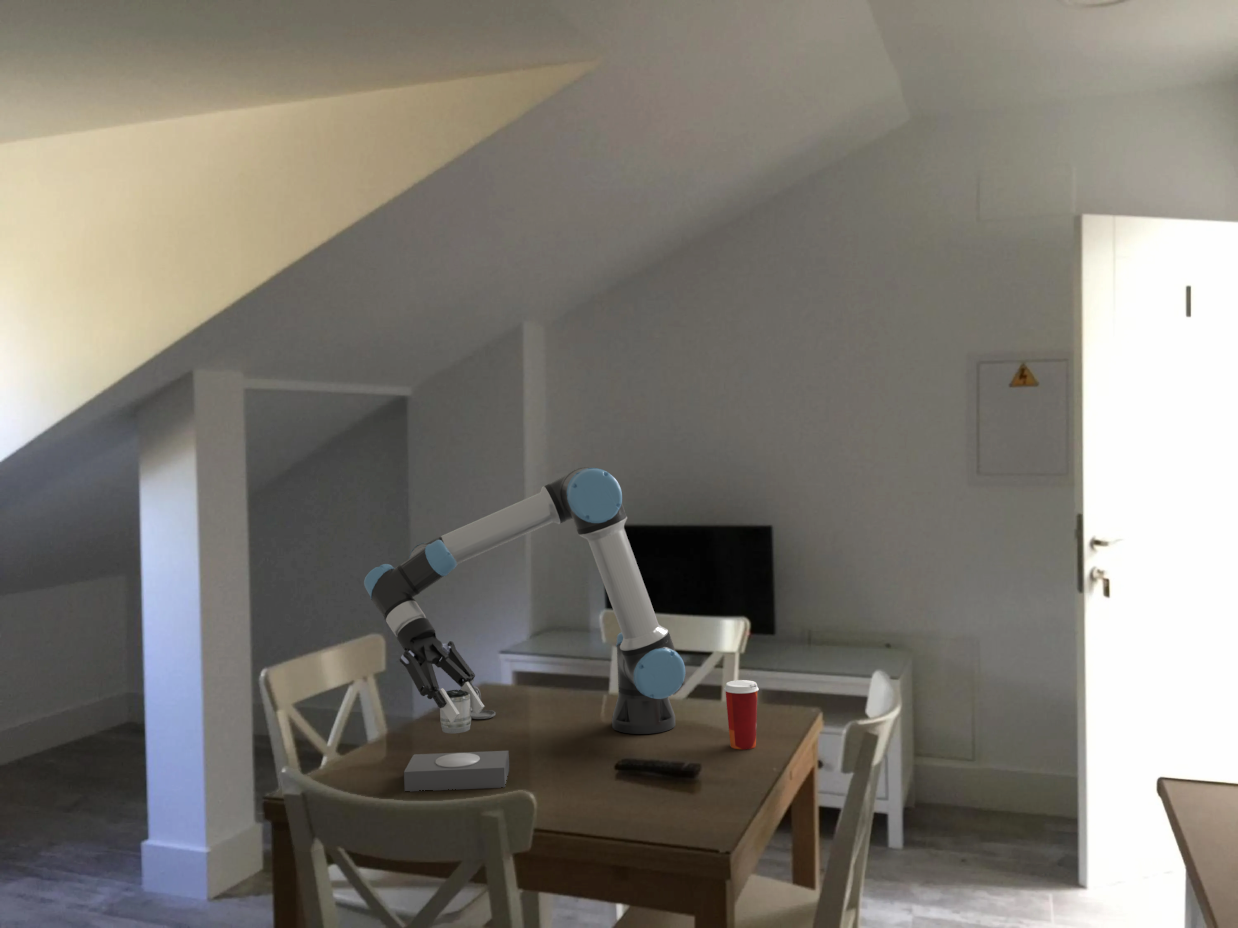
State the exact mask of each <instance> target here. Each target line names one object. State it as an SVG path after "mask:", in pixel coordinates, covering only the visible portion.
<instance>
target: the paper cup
mask: <svg viewBox="0 0 1238 928" xmlns="http://www.w3.org/2000/svg"><path fill="white" fill-rule="evenodd" d="M723 691H725V700H726V702H725V703H726V713H727V724H728V731H729V732H728V733H729V743H730V745H729V746H730V747H731V748H732V749H734V750H744V751H745V750H751V749H754V748H756V747H757V746H756V745H757V723H758V722H757V721H758V719H757V717H758V716H757V715H758V691H760V690H759V687H758V684H757V682H756V681H753V680H746V679H736V680H730V681H727V682H726V684H725V687H724V688H723Z"/></svg>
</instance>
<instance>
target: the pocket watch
mask: <svg viewBox="0 0 1238 928" xmlns="http://www.w3.org/2000/svg"><path fill="white" fill-rule="evenodd" d="M474 680H475V678H474V679H473V680H472V681H471V684H472V685H473V683H474ZM473 687H474V688H475V690H476V691H477V693H478V695H477V696H478V697H479V699H480V700H481V701H482V694H481V690H480V689H479V687H478V686H476V685H473ZM496 714H497V713H496V711H494V710H489V709H482V710H481V712H480V713H479V714H478V715H475V713H474V712H473V710H472V709H471V719H472V720H473V719H474V720H487V719H491V718H493V717H495V716H496Z"/></svg>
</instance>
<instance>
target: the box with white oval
mask: <svg viewBox="0 0 1238 928" xmlns="http://www.w3.org/2000/svg"><path fill="white" fill-rule="evenodd" d="M509 752H510V751H509V750H494V751H493V750H490V751H469V752H466V751H465V752H464V751H463V752H445V753H444V752H441V753H439V752H438V753H420V754H419V753H418V754H417V753H416V754H415V753H414V754H413V755H412V757H411V758H410V760H409V762H408V764H407V766H406V767H405V769H404V770H403V781H404V782H403V783H404V792H405V791H410V792H426V791H425V790H433V791H450V790H452V789H453V790H455V789H456V790H475V789H477V790H478V789H500V788H501V787H503V788H506V785H507V781H508V777H507V776H509V774H510V773H509V772H510V757H509V756H510V755H509V754H510V753H509ZM506 780H507V781H506ZM505 784H506V785H505ZM448 789H449V790H448ZM419 790H421V791H419ZM422 790H424V791H422ZM456 790H455V791H456Z"/></svg>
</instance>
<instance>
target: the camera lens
mask: <svg viewBox="0 0 1238 928" xmlns="http://www.w3.org/2000/svg"><path fill="white" fill-rule="evenodd" d="M445 692H446V693H447V695H448V696H449V698H450V699H451V701H452V702H453V704H454V706H455V707H456V709H457V710H458V712H459V713H460V714H459V715H458V717H457V718H456V719H455V721H454V722H450V721H449V719H448V718H447V716H446V714H445V713H444V711H443V710H442V708H439V716H440V717H439V718H440V728H441V732H442V733H445V734H460V733H465V732H469V730H471V724H472V718H471V705H470V694H469V693H468V692H466V691H462V690H460V689H450V690H445Z"/></svg>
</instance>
